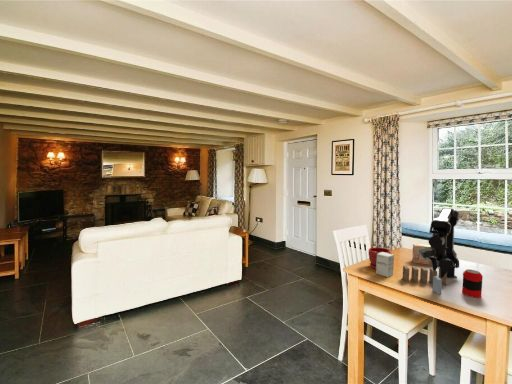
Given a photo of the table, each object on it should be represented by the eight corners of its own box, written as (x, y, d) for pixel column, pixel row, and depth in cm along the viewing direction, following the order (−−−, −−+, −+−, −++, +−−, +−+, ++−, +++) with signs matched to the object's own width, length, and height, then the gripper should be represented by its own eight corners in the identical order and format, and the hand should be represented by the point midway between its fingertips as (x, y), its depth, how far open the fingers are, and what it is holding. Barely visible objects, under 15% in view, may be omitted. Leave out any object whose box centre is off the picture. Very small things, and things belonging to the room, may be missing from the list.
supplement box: (375, 273, 162) (376, 253, 161) (381, 271, 166) (382, 251, 166) (387, 277, 156) (388, 256, 155) (393, 274, 161) (394, 254, 160)
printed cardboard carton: (447, 264, 181) (448, 246, 180) (450, 267, 175) (451, 248, 175) (412, 260, 189) (412, 243, 188) (413, 262, 184) (414, 245, 183)
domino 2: (411, 278, 154) (411, 266, 154) (415, 279, 154) (415, 266, 153) (414, 282, 150) (414, 269, 149) (417, 282, 149) (418, 269, 149)
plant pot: (383, 264, 180) (384, 246, 179) (394, 271, 167) (395, 252, 166) (364, 264, 179) (365, 246, 179) (373, 271, 166) (374, 252, 166)
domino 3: (420, 279, 153) (420, 267, 153) (423, 280, 153) (424, 267, 152) (423, 283, 148) (423, 270, 148) (427, 283, 148) (427, 270, 148)
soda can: (472, 291, 139) (473, 268, 138) (485, 297, 131) (486, 274, 130) (458, 291, 138) (459, 268, 138) (470, 298, 131) (472, 274, 130)
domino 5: (432, 289, 140) (433, 276, 139) (437, 290, 139) (437, 276, 139) (436, 294, 135) (437, 279, 135) (441, 294, 135) (441, 280, 134)
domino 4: (429, 280, 152) (429, 267, 152) (433, 280, 152) (433, 268, 151) (432, 284, 147) (433, 270, 147) (436, 284, 147) (437, 271, 146)
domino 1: (402, 278, 156) (403, 265, 155) (406, 278, 155) (406, 265, 155) (404, 281, 151) (405, 268, 150) (408, 281, 150) (409, 268, 150)
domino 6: (438, 281, 151) (438, 268, 151) (442, 281, 151) (442, 268, 150) (441, 284, 146) (442, 271, 146) (446, 285, 146) (446, 272, 145)
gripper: (415, 238, 147) (414, 266, 148) (428, 247, 129) (427, 279, 130) (438, 240, 144) (437, 268, 145) (455, 249, 126) (453, 281, 127)
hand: (437, 273), depth 137 cm, fingers open, 9 cm apart
